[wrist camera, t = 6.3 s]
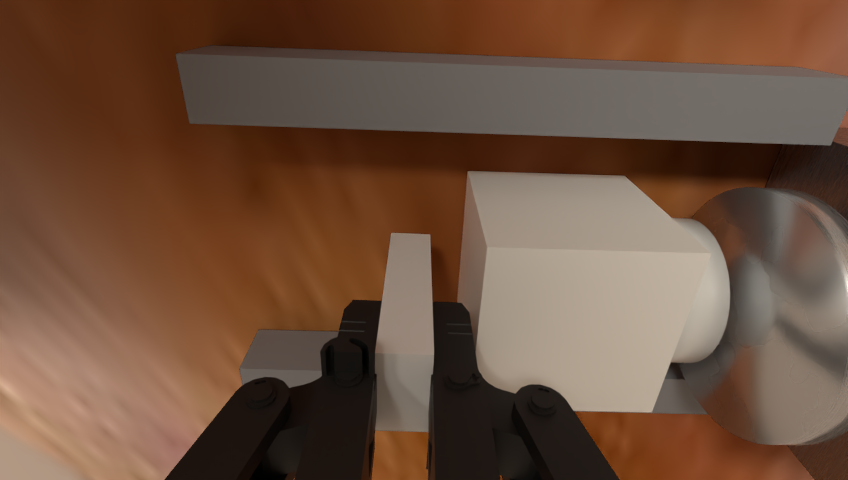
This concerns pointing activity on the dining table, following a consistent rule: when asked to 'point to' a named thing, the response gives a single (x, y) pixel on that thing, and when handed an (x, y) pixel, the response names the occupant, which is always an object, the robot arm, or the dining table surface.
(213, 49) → the guide rails
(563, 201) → the cube with cylindrical stub
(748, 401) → the button station
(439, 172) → the dining table surface
